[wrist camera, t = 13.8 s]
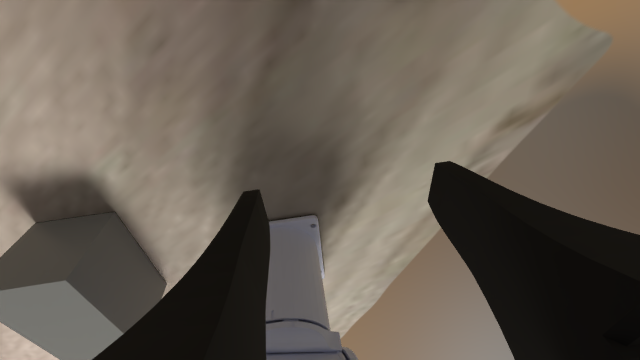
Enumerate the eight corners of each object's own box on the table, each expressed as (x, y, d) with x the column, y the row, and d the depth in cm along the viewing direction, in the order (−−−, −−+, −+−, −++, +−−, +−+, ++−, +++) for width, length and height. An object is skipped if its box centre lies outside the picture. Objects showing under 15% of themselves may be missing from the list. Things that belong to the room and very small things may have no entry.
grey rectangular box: (166, 284, 27) (142, 350, 22) (105, 293, 27) (66, 363, 22) (114, 211, 21) (65, 280, 16) (35, 223, 21) (-40, 296, 16)
